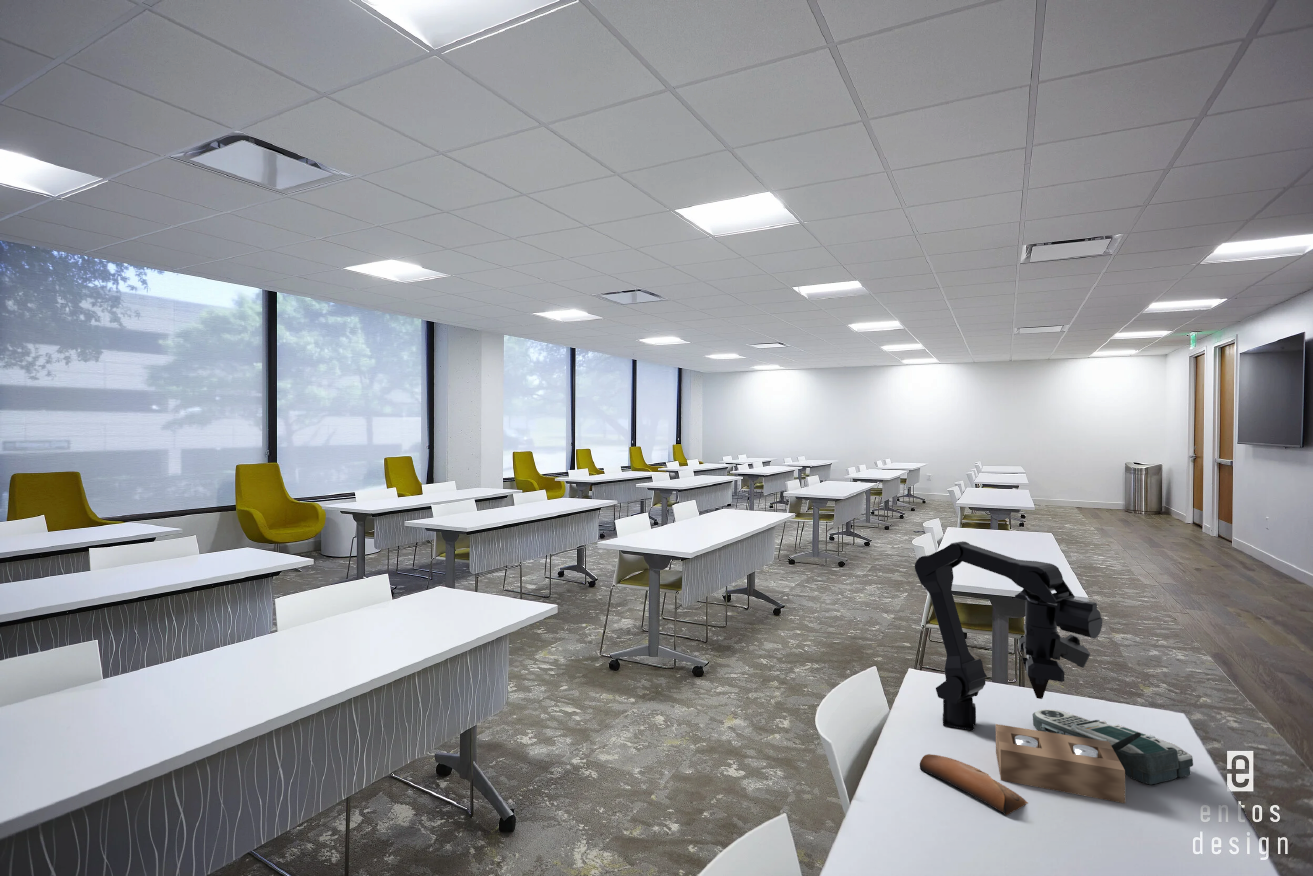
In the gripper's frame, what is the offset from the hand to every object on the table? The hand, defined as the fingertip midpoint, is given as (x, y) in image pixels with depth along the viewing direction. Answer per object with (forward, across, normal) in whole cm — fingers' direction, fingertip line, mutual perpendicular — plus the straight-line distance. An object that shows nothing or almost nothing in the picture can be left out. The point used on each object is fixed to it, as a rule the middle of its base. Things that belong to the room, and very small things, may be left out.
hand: (1039, 698), depth 133 cm
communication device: (+13, +8, -12) cm, 19 cm away
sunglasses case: (+13, -19, +13) cm, 26 cm away
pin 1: (+12, -8, +3) cm, 15 cm away
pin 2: (+12, -8, -7) cm, 16 cm away
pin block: (+12, -8, -2) cm, 15 cm away
